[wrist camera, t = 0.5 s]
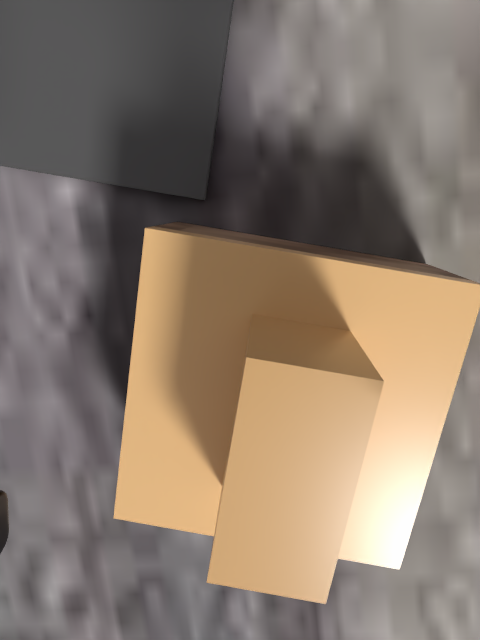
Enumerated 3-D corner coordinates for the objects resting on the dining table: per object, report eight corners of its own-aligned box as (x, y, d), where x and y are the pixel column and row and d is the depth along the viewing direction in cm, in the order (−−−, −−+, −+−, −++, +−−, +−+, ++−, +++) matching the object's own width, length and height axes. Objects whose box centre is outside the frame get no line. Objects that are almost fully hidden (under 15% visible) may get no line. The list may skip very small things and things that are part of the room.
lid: (460, 276, 15) (578, 320, 9) (386, 532, 17) (443, 689, 12) (159, 225, 15) (94, 237, 9) (128, 487, 17) (63, 620, 12)
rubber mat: (243, -69, 16) (242, -78, 15) (205, 200, 18) (204, 200, 17) (-43, -115, 16) (-53, -125, 15) (-44, 158, 18) (-53, 156, 17)
